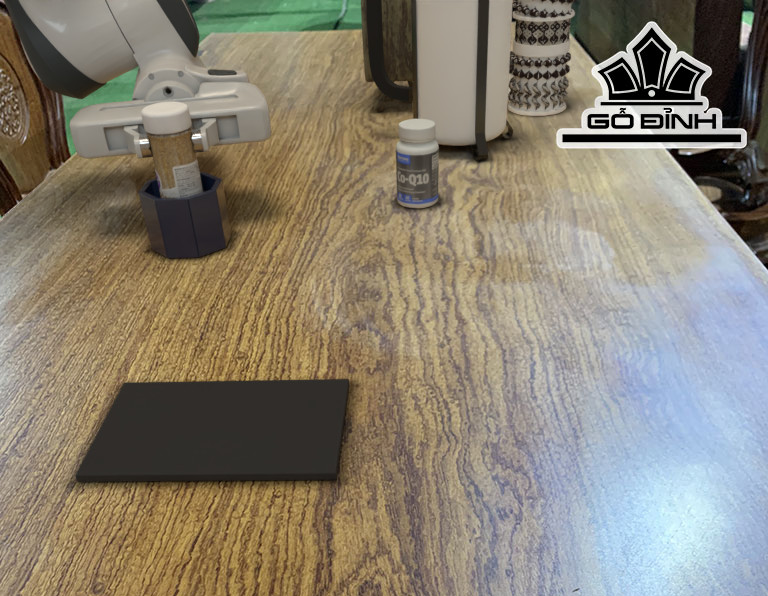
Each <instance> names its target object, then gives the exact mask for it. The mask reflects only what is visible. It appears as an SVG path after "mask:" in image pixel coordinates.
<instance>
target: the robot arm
mask: <svg viewBox="0 0 768 596" xmlns="http://www.w3.org/2000/svg"><path fill="white" fill-rule="evenodd" d="M3 2H4V5H5V7H6V9H7V11H8V13H9V15H10V18H11V20H12V23H13V25H14V27H15V29H16V32H17V35H18V37H19V41H20V44H21V46H22V50H23V52H24V55H25V57H26V59H27V61H28V64H29V65H30V67H31V69H32V71H33V72H34V74H35V75H36V77H37V78H38V79H39V81H41V83H42V84H43V85H44V86H45V88H46V89H48V90H50V91H51V92H54V93H56V94H59V95H61V96H65V97H69V98H72V99H78V100H83V99H86V98H87V97H88V96H90V95H92V94H93V93H94V92H96V91H98V90H99V89H101V88H103V87H104V86H106V85H107V84H108V82H111V81H112V80H115V79H116V78H118V77H120V76H122V75H124V74H126V73H128V72H130V71H132V70H134V69H136V68H138V70H137V73H136V77H135V82H134V83H135V84H134V87H133V92H132V96H131V100H123V101H113V102H102V103H94V104H90V105H86V106H84V107H81V108H80V109H79V110H78V111H77V112H76V113H75V114H74V115H73V116H72V118H71V119H70V121H69V130H70V135H71V139H72V143H73V146H74V150H75V153H76V154H77V156H78V157H80V158H83V159H88V160H89V159H100V158H108V157H109V158H110V157H120V156H128V155H136V157H137V159H138V160H139V159H146V158H153V156H152V151H151V146H150V142H149V138H148V135H147V132H146V131H145V129H144V125H143V120H142V115H141V111H142V109H143V108H145V107H146V106H149V105H151V104H155V103H161V102H181V103H184V104H186V105H187V106H188V108H189V113H190V118H191V123H192V125H191V128H192V130H191V137H192V142H193V148H194V153H195V154H196V153H204V152H205V153H207V152H210V148H211V147H218V146H227V145H228V146H229V145H230V146H231V145H238V144H248V143H249V144H250V143H260V142H265V141H268V140H270V139H271V138H272V126H271V117H270V110H269V105H268V102H267V99H266V96H265V95H264V93H263V92H262V91H261V89H260V88H259V87H258V86H257V85H255V84H253V83H250V77H249V75H248V72H246V71H244V70H234V69H218V68H217V69H215V68H207V67H206V66H205V63H203V61H202V59H201V58H200V56H199V54H198V52H199V48H200V39H201V38H200V37H201V36H200V31H199V28H198V25H197V22H196V19H195V17H194V14H193V12H192V9H191V8H190V5H189V3H188V1H187V0H3Z"/></svg>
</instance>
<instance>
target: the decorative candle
mask: <svg viewBox="0 0 768 596" xmlns="http://www.w3.org/2000/svg"><path fill="white" fill-rule="evenodd" d="M577 1H578V0H513V3H512V8H514V10H512V19H515V26H514V38H513V40H512V51H513V53H512V54H511V56H510V60H511V61H512V62H513V63H514V65H512V64H511V65H512V66H511V67H510V70H509V74H511V75H512V77H511V78H509V85H508V89H509V91H508V101H509V103H508V104H507V111H510V112H511V113H513V114H516V115H521V116H528V117H540V116H541V117H542V116H551V115H557V114H559V113H562V112H564V111H565V110H566V109H567V103H566V100H567V99H568V98H569V97H568V91H567V89H568V88H569V86H570V84H569V83H570V81H569V79H568V78H567V76H566V75H567V74H568V73H570V71H571V68H570V65H569V64H568V63H569V62H570V61H571V59H572V54H571V53H570V51H571V38H570V35H571V23H572V22H571V21H572V18H573V17H575V16H576V12H575V10H574V9H573V8H572V5H573V4H574V3H576V2H577Z"/></svg>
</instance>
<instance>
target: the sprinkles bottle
mask: <svg viewBox="0 0 768 596" xmlns="http://www.w3.org/2000/svg"><path fill="white" fill-rule="evenodd" d="M141 115H142V120H143V125H144V129H145V131H146V132H147V135H148V138H149V142H150V146H151V151H152V156H153V157H152V160H153V165H154V172H155V178H157V181H158V186H159V191H160V196H161V198H179V197H189V196H192V195H196V194H199V193H202V192H203V188H202V183H201V177H200V172H201V171H200V167H199V162H198V157H197V154H196V153H194V148H193V142H192V137H191V130H192V128H191V125H192V123H191V118H190V113H189V108H188V106H187V105H186V104H184V103H181V102H161V103H155V104H151V105H149V106H146V107H145V108H143V109H142V111H141Z"/></svg>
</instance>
